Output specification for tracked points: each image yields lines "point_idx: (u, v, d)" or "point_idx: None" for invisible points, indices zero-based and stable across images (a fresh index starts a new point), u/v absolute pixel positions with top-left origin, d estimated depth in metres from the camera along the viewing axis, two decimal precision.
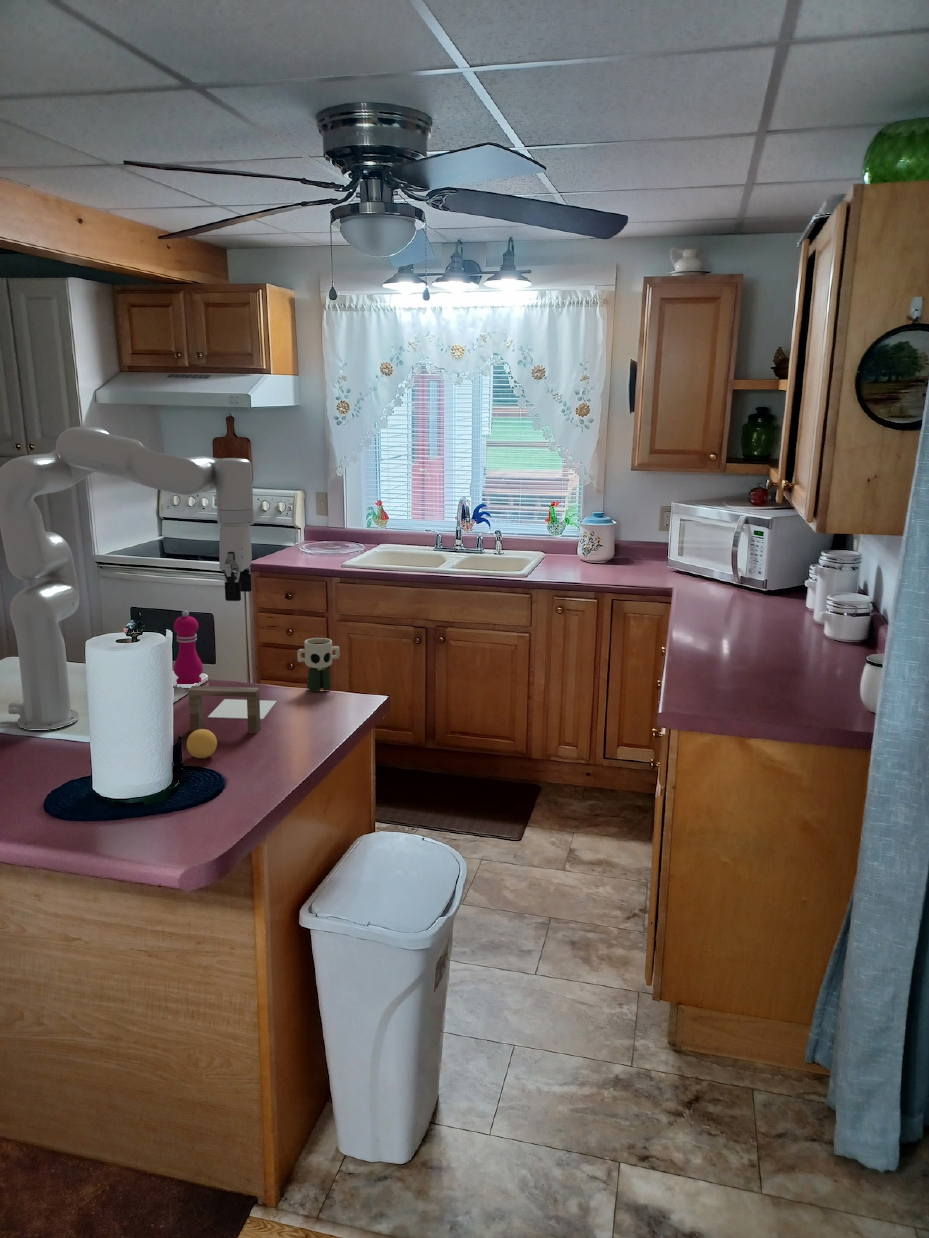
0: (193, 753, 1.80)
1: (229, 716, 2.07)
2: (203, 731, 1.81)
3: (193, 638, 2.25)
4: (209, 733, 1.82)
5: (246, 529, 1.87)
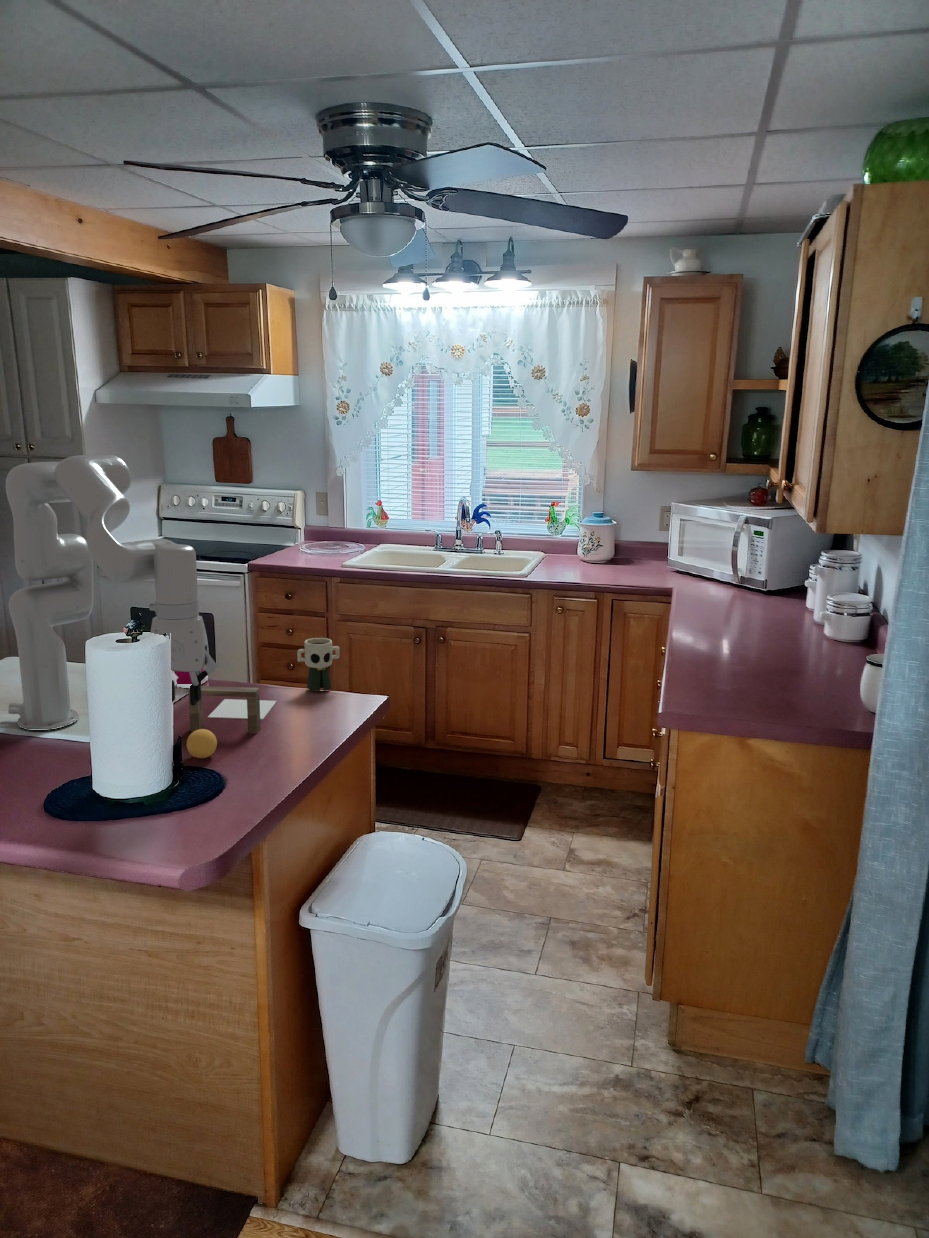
0: (193, 753, 1.80)
1: (229, 716, 2.07)
2: (203, 731, 1.81)
3: None
4: (209, 733, 1.82)
5: None
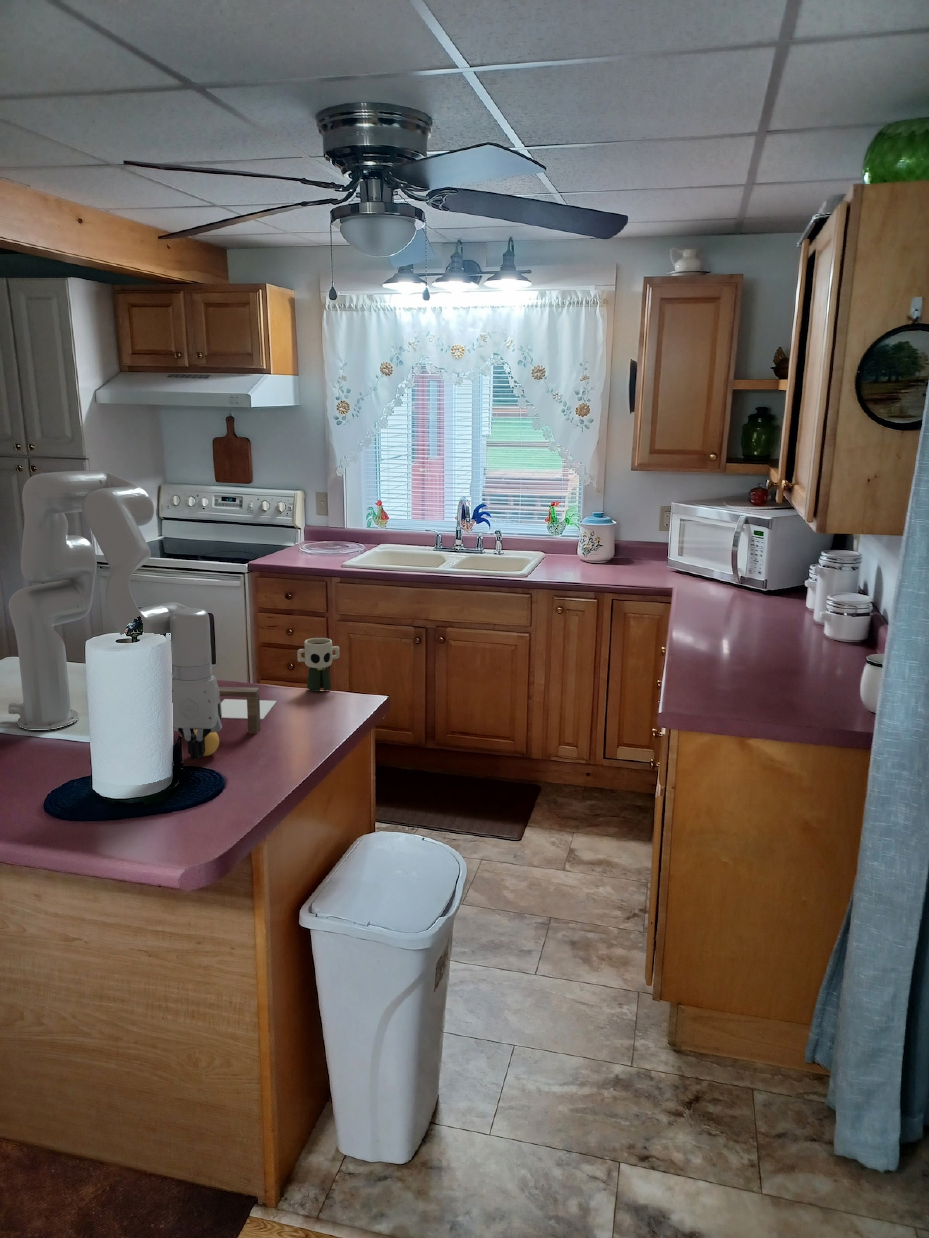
0: None
1: (229, 716, 2.07)
2: None
3: None
4: None
5: None
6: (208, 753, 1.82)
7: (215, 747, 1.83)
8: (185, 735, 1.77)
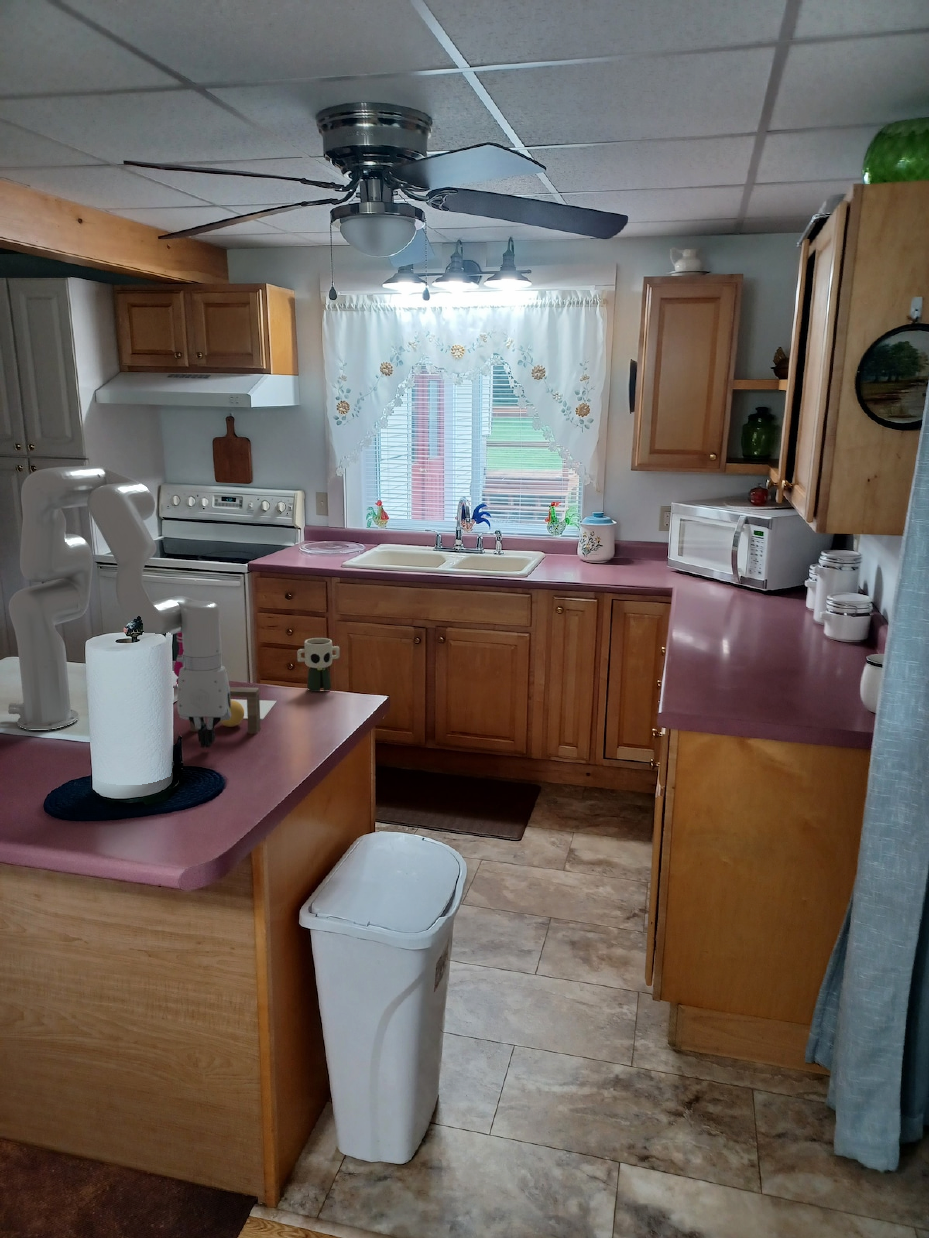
0: (225, 725, 1.99)
1: None
2: (232, 706, 1.98)
3: None
4: (237, 707, 1.99)
5: None
6: (236, 724, 2.01)
7: (242, 719, 2.01)
8: (195, 724, 1.83)
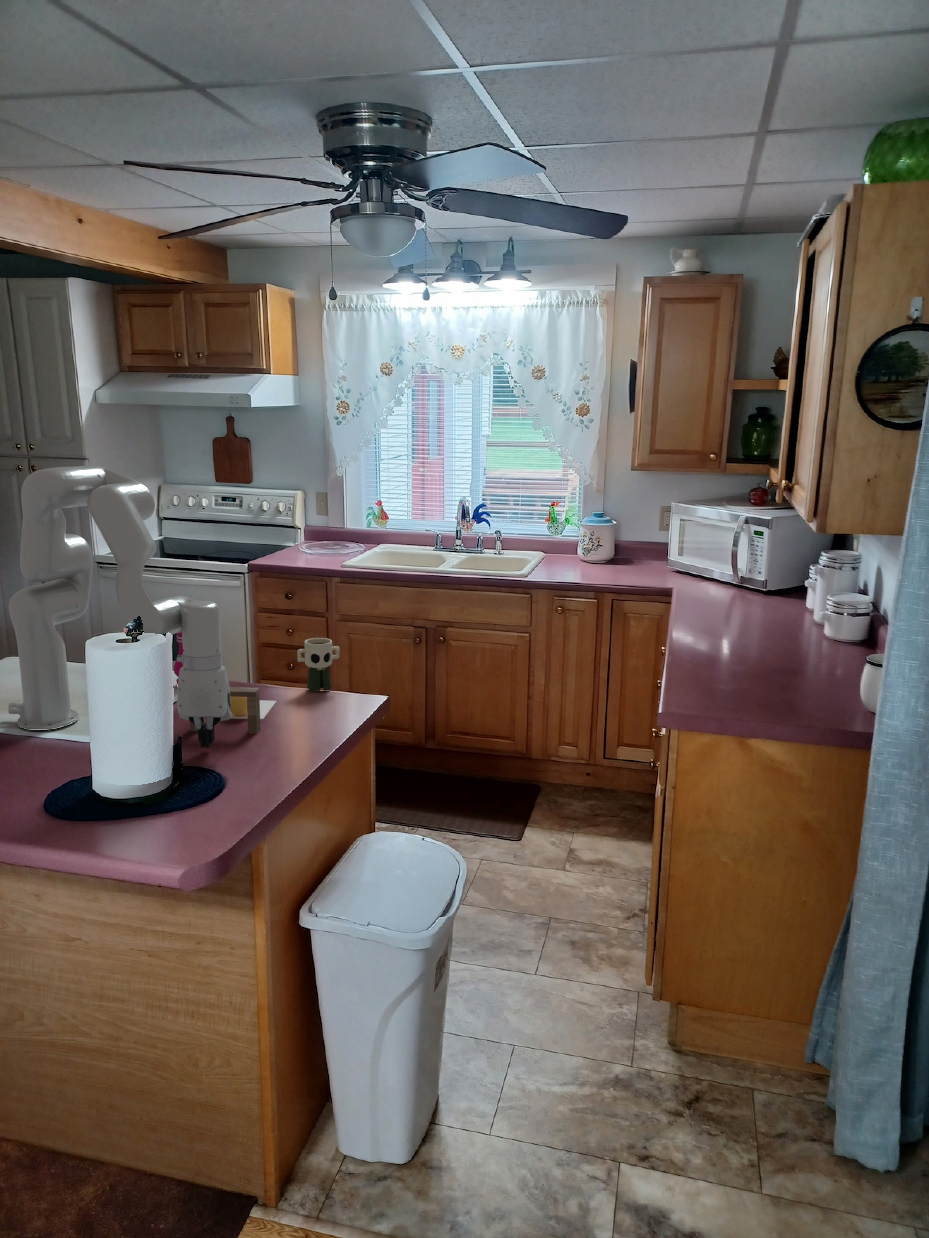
0: None
1: None
2: None
3: None
4: None
5: None
6: None
7: None
8: (195, 724, 1.83)
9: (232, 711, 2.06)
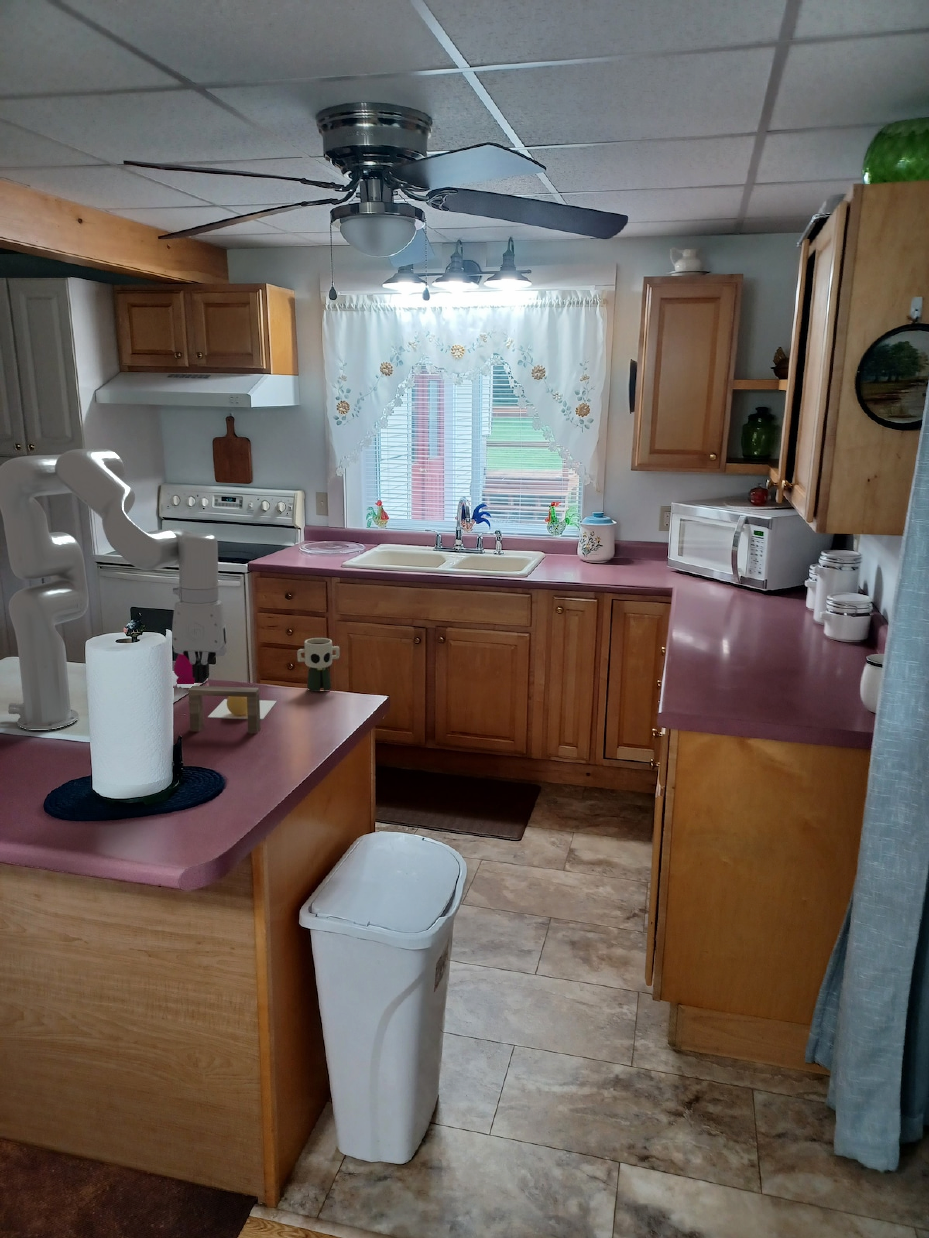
0: None
1: (229, 716, 2.07)
2: None
3: None
4: None
5: None
6: None
7: None
8: (190, 658, 1.80)
9: (232, 711, 2.06)
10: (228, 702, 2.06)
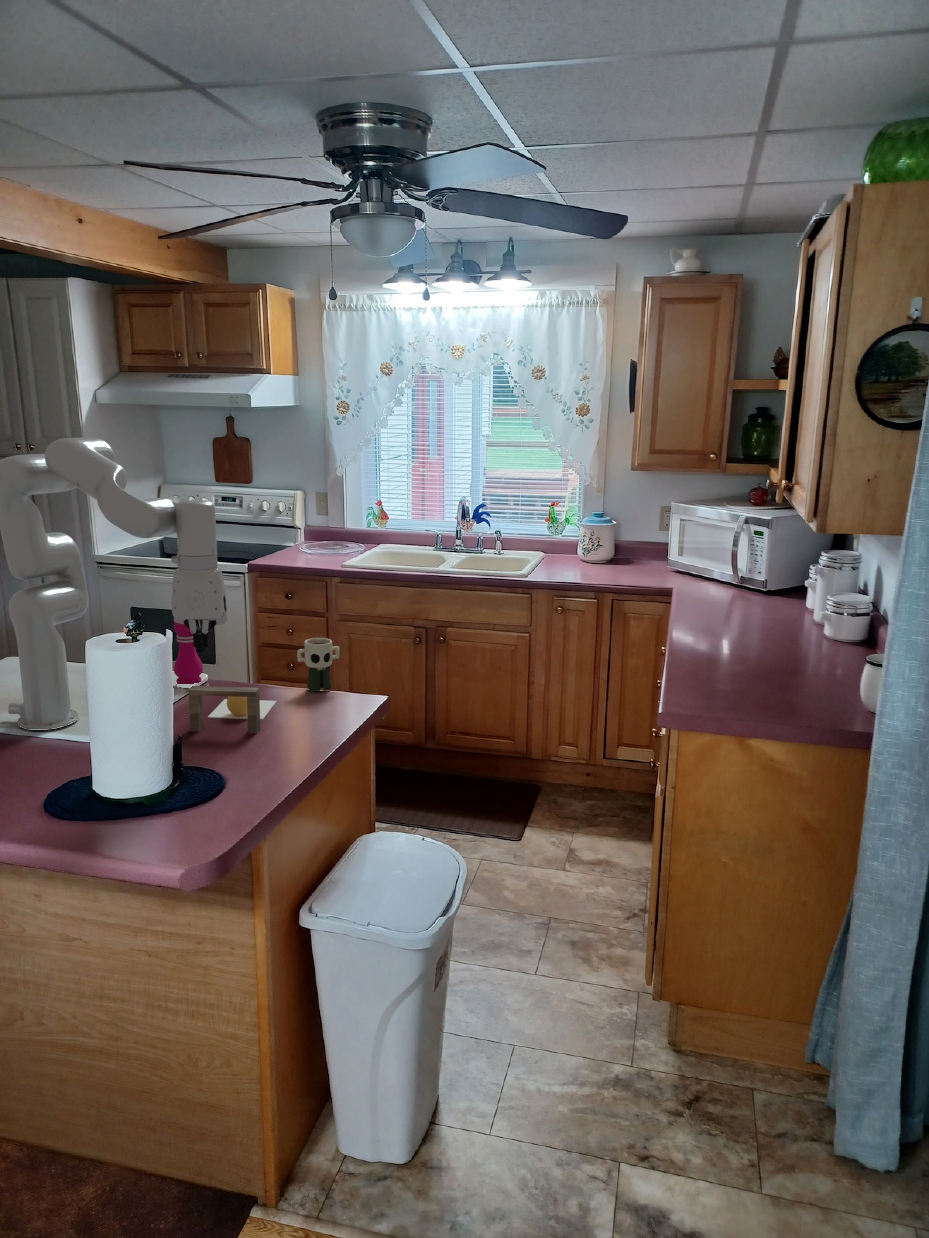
0: None
1: (229, 716, 2.07)
2: None
3: None
4: None
5: None
6: None
7: None
8: (191, 627, 1.78)
9: (232, 711, 2.06)
10: (228, 702, 2.06)
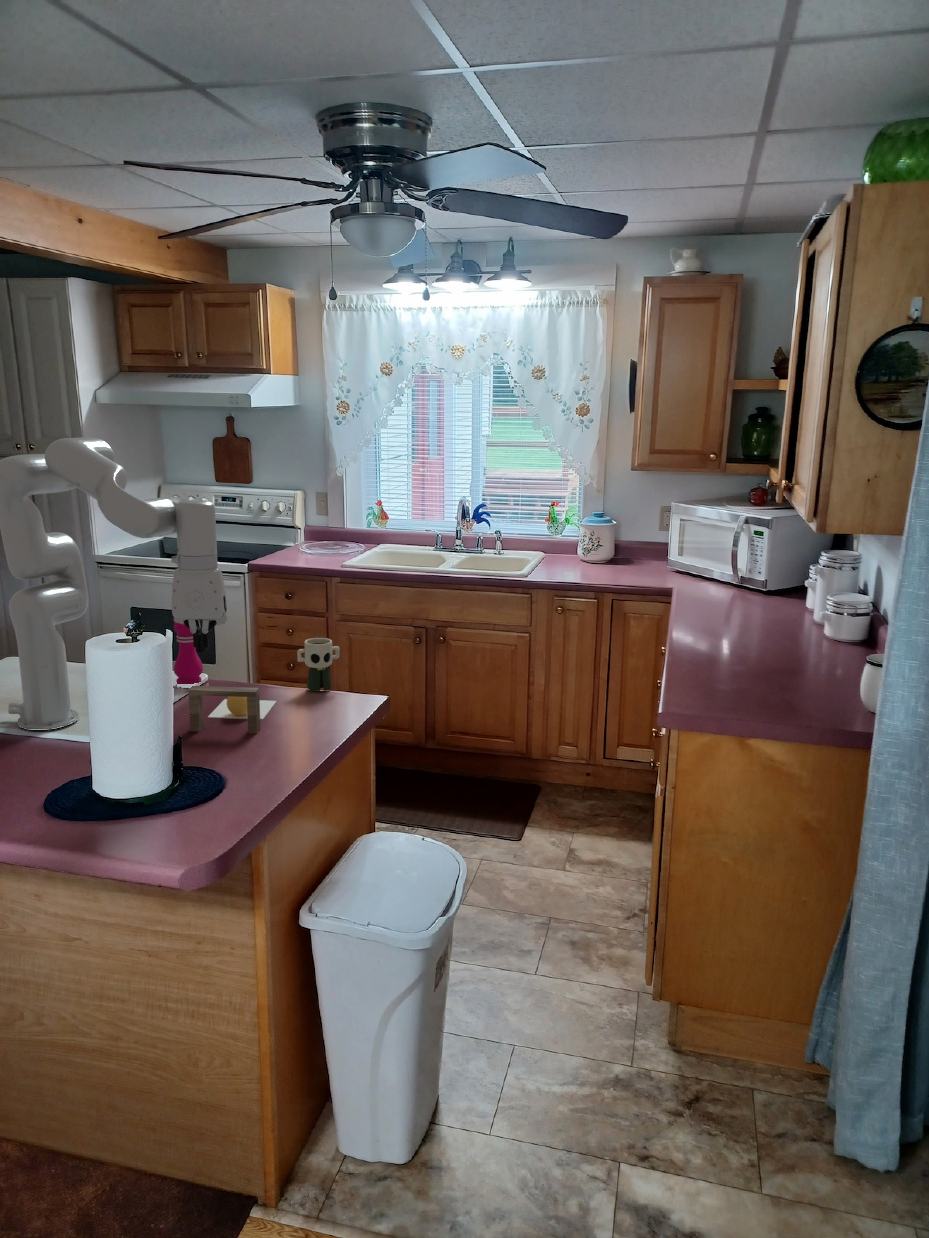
0: None
1: (229, 716, 2.07)
2: None
3: None
4: None
5: None
6: None
7: None
8: (191, 627, 1.78)
9: (232, 711, 2.06)
10: (228, 702, 2.06)
